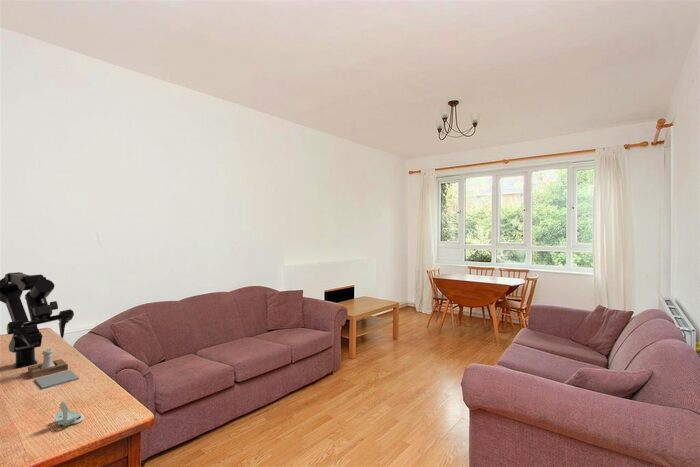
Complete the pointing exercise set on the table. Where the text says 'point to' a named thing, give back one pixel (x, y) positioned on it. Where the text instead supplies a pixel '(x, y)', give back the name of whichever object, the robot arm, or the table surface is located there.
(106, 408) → the table surface
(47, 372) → the socket block
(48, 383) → the slate mat
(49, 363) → the rook chess piece
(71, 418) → the pacifier
